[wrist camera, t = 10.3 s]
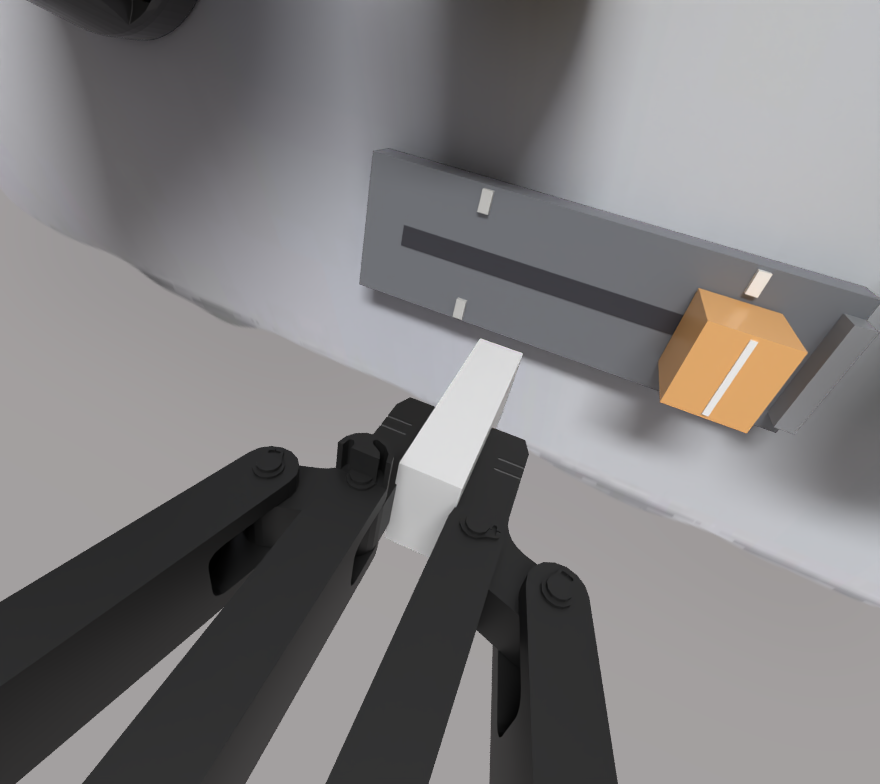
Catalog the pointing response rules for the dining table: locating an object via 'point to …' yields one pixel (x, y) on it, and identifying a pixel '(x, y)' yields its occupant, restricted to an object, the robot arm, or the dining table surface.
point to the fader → (727, 360)
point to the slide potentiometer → (589, 278)
